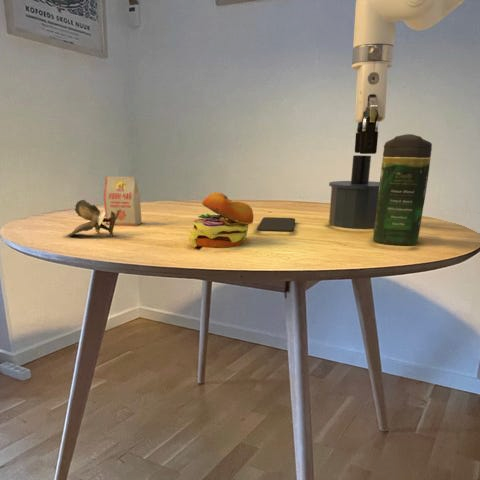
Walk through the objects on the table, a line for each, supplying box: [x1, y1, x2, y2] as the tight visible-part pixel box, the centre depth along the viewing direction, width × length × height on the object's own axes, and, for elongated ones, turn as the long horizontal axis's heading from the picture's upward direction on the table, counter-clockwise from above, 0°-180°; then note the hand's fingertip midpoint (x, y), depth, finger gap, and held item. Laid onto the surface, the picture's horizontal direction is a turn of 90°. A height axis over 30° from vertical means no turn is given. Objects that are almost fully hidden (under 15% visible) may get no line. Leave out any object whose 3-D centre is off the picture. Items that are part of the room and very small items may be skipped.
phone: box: [256, 216, 296, 233], centre depth 100 cm, size 7×1×15 cm
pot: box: [328, 187, 379, 230], centre depth 100 cm, size 12×12×8 cm
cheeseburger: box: [188, 191, 254, 248], centre depth 82 cm, size 10×11×10 cm
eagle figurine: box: [67, 199, 119, 237], centre depth 90 cm, size 8×7×9 cm
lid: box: [328, 154, 380, 189], centre depth 98 cm, size 13×13×7 cm
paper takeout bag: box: [103, 175, 143, 226], centre depth 102 cm, size 4×7×10 cm, turn 80°
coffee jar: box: [372, 133, 433, 247], centre depth 82 cm, size 10×8×19 cm
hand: (364, 153), depth 96 cm, fingers open, 9 cm apart
